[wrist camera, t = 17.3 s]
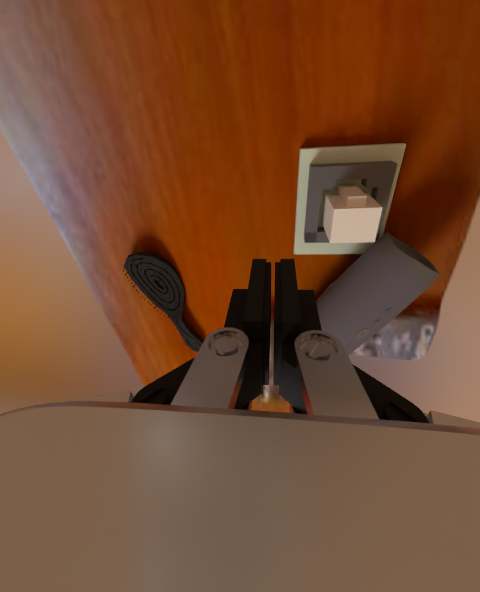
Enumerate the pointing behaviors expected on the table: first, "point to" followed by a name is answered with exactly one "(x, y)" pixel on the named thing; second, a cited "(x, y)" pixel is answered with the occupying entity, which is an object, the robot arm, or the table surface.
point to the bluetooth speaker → (374, 291)
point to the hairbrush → (162, 290)
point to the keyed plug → (350, 215)
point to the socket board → (325, 178)
